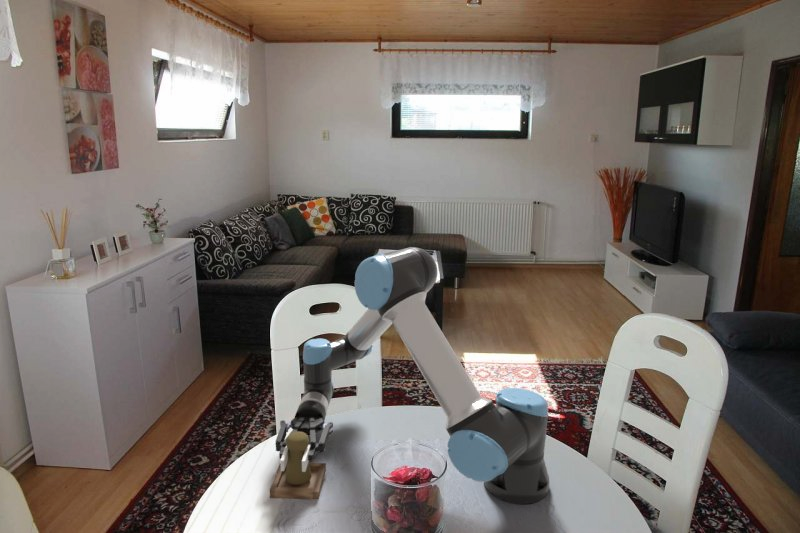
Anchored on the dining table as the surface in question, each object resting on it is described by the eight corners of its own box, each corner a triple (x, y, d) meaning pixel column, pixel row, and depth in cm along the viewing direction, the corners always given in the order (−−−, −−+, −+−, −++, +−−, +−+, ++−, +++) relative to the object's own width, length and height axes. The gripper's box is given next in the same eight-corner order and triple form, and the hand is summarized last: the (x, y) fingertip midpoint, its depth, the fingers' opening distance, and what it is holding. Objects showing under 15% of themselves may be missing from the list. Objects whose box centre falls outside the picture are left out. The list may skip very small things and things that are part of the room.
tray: (326, 470, 138) (325, 462, 138) (318, 499, 128) (318, 491, 127) (281, 468, 139) (280, 461, 138) (269, 498, 128) (269, 490, 128)
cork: (315, 471, 135) (314, 430, 132) (304, 486, 129) (303, 444, 126) (292, 466, 136) (291, 426, 134) (280, 482, 131) (279, 439, 128)
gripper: (344, 426, 149) (331, 482, 127) (279, 424, 150) (255, 479, 127) (344, 400, 147) (331, 452, 125) (278, 398, 148) (253, 449, 125)
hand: (292, 466), depth 126 cm, fingers closed on cork, 4 cm apart
